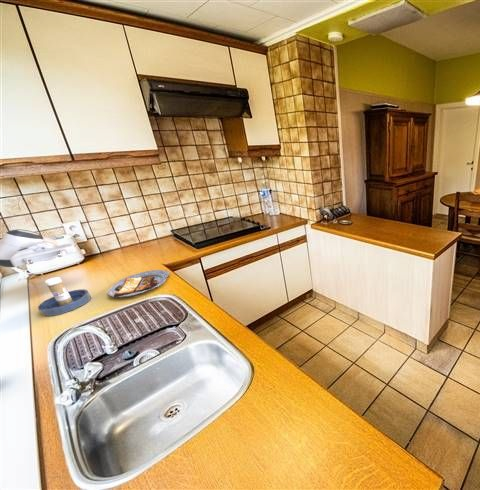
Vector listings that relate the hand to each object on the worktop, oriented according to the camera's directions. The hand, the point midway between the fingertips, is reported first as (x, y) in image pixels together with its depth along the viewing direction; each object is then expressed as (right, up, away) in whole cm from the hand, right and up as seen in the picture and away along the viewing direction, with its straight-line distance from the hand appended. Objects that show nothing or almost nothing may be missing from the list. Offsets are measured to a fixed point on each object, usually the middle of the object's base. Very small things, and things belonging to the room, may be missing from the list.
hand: (45, 258), depth 122 cm
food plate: (+35, -15, +11) cm, 39 cm away
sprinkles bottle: (+12, -21, -2) cm, 24 cm away
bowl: (+12, -21, -1) cm, 24 cm away
